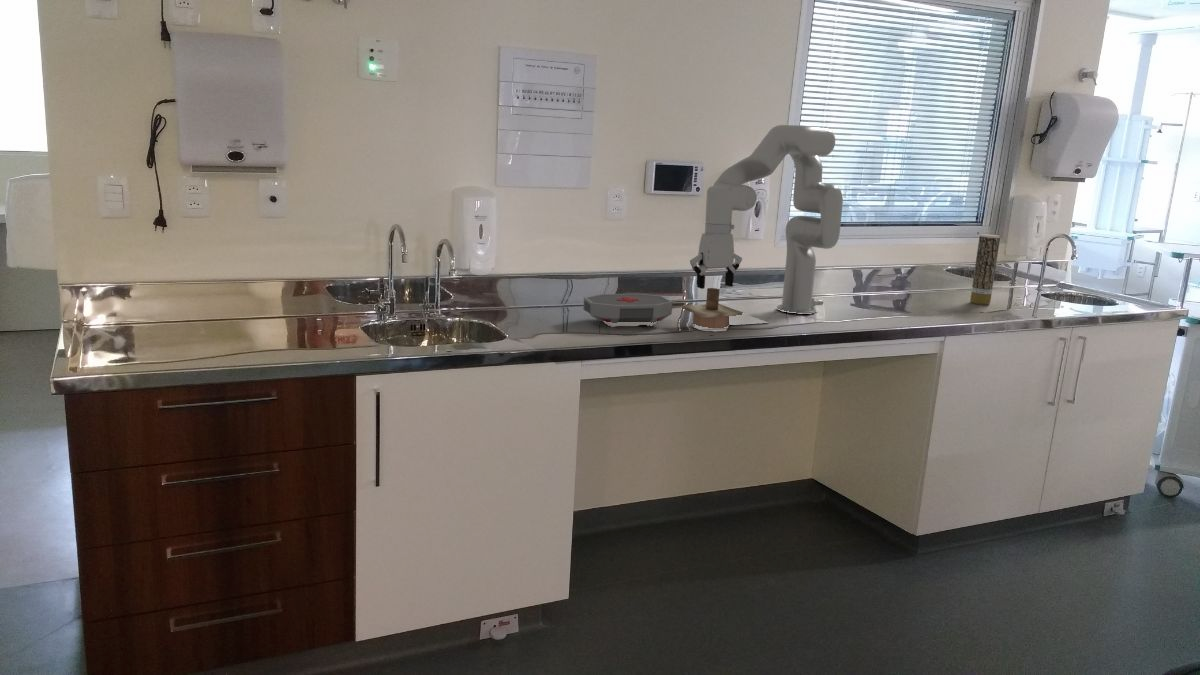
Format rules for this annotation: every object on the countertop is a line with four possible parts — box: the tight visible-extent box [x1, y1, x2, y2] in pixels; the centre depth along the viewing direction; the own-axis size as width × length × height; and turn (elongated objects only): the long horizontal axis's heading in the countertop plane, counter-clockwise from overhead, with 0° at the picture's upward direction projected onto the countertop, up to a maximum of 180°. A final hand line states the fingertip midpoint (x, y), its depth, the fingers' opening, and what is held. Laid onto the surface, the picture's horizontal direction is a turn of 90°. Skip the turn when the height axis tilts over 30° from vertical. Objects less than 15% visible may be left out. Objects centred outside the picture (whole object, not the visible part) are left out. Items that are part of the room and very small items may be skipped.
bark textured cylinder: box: [969, 233, 1001, 306], centre depth 311 cm, size 7×7×25 cm
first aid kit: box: [582, 293, 673, 323], centre depth 257 cm, size 18×8×25 cm
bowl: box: [692, 313, 729, 328], centre depth 256 cm, size 10×10×5 cm
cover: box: [681, 287, 744, 317], centre depth 255 cm, size 13×13×7 cm
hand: (714, 286), depth 254 cm, fingers open, 9 cm apart
